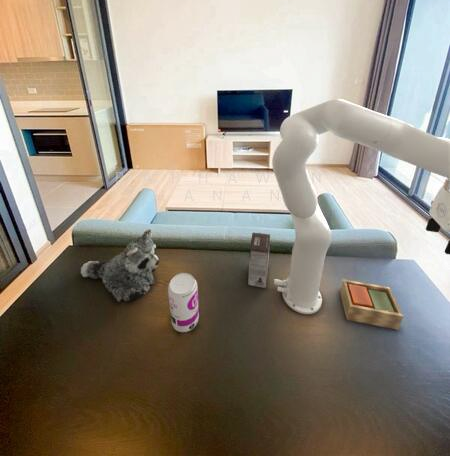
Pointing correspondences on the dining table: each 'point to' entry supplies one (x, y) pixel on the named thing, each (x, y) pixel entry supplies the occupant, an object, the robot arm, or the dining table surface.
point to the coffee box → (258, 259)
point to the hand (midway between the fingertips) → (441, 241)
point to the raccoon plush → (127, 269)
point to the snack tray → (370, 304)
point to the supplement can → (183, 302)
